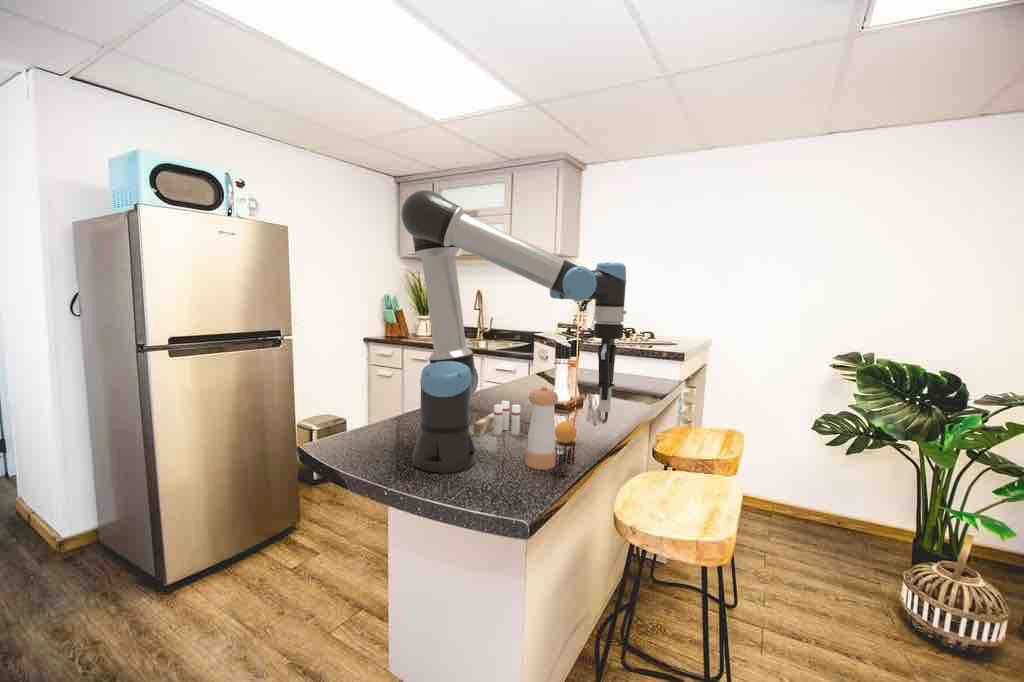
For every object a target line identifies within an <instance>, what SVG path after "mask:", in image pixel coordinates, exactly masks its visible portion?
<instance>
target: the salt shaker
mask: <svg viewBox="0 0 1024 682" xmlns="http://www.w3.org/2000/svg"><path fill="white" fill-rule="evenodd" d="M528 400H529V402H530V403H531V413H530V414H531V415H530V422H529V428H528V434H527V447H526V449H525V465H526V467H529V468H531V469H535V470H541V471H542V470H550V469H553V468H555V466H556V458H557V450H556V449H555V448H556V447H555V446H556V436H555V428H556V426H555V405H556V404H557V403H558V401H559V396H558V394H557V392H556V391H554V390H552V389H549V388H548V387H547V386H544V385H543V386H541V387H540V388H537V389H534V390H531V392H530V393H529V394H528Z"/></svg>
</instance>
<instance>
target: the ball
mask: <svg viewBox="0 0 1024 682" xmlns="http://www.w3.org/2000/svg"><path fill="white" fill-rule="evenodd" d="M555 436H556V437H555V439H557V441H559V442H560V443H562V444H570V443H571V442H573V441H574V440H575V439H576V437H577V428H576V427H575V425H574V424H573V423H572V422H570V421H566V420H565V421H561V422H559V423H558V424H557V425H556V426H555Z"/></svg>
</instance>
